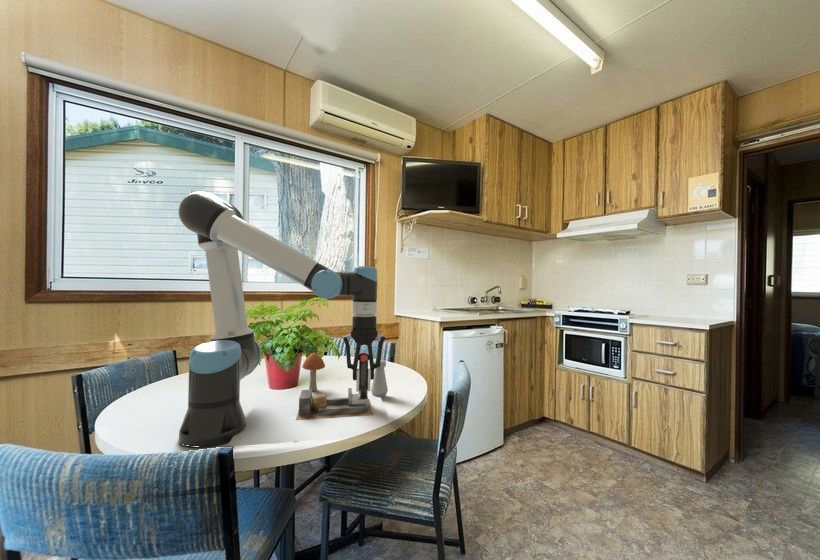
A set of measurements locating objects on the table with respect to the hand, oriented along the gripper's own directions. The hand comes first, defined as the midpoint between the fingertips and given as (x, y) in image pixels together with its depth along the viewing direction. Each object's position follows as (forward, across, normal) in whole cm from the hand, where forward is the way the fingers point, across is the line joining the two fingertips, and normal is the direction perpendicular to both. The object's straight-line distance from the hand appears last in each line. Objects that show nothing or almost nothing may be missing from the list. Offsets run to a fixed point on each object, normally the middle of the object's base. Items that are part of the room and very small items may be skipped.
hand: (363, 389), depth 106 cm
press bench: (+7, -8, 0) cm, 11 cm away
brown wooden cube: (+5, -13, 0) cm, 14 cm away
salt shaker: (+7, +7, +12) cm, 15 cm away
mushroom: (+7, -16, +19) cm, 26 cm away
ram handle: (+5, -1, 0) cm, 5 cm away
